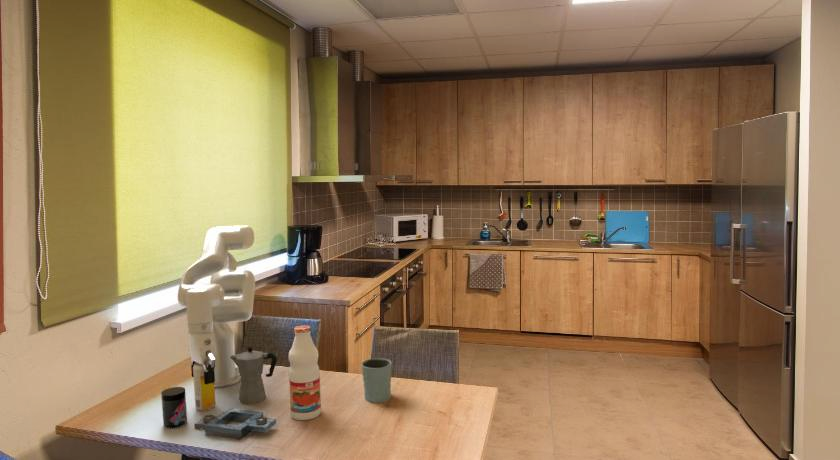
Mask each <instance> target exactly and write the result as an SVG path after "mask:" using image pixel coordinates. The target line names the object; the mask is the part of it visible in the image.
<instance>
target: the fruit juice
mask: <svg viewBox="0 0 840 460" xmlns="http://www.w3.org/2000/svg"><path fill="white" fill-rule="evenodd" d="M293 331H294V334H295V336H294V338H293V342H292V346H291V348H290V350H289V352H288V362H289V365H290V366H289V369H288V387H289V388H288V389H289V390H288V391H289V407H290V408H289V409H290V410H289V411H290V416H291V418H292V419H294V420H297V421H310V420H312V419H313V420H314V419H316V418H317V417H319V416H320V415H321V414H322V413H321V412H322V407H321V406H322V403H321V401H322V399H321V398H322V397H321V379H320V377H321V372H320V366H319V365H318V360H319V351H318V348H317V347H316V345H315V343H314V341H313V339H312V336H311V326H310V325H306V324H305V325H297V326H295V327H294V329H293Z"/></svg>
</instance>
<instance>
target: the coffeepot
mask: <svg viewBox="0 0 840 460" xmlns="http://www.w3.org/2000/svg"><path fill="white" fill-rule="evenodd" d="M246 348H247V351H244V352H241V353H238V354H235V355H233V356H231V357H230V358H231V359H232V360H233V361H234V362H235V366H237V367H238V369H239V373H240V377H241V378H240V380H239V391H238V401H239V402H240V403H241V404H245V405H249V404H250V405H252V404H257V403H260V402H262V401H264V400H265V399H266V398H267V393H266V389H265V386H264V382H263V378H262V377H263V376H262V374H263V372H264V361H265V360H268V359H271V362H270V367H269V369H268V370H269V373H265V378H269V377H270V378H271V377H272V376H273V375H274V371H275V367H276V366H277V361H278V356H276V355H275V354H274V353H273V352H263V351H258V350H253V346H251V345H250V346H247V347H246Z"/></svg>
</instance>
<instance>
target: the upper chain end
mask: <svg viewBox="0 0 840 460" xmlns="http://www.w3.org/2000/svg"><path fill="white" fill-rule="evenodd" d="M264 414H265V413H264V411H254V410H249V409H248V410H247V409H240V408H230V407H229V408H228V409H225V411H223V412H221V413H220V414H219V415H216V416H217V417H216V418H215V419H213V420H212V421H210V422H209V423H207V424H206V425H205V429H204V431H205V430H208V431H215V432H223V433H230V434H238V435H242V434H243V433H244V432H245V431H247V430H249V431H252V432H258V433H267V432H268V431H269V430H271V428H272V427H274V426H275V425H277V418H275V417H267V416H265V415H264ZM231 416H233V417H242V418H249V419H247V420H246V421H245V422H241V424H240V425H233V424H232V425H231V424H221V423H223V422H224V421H226V420H227V419H228V418H230V417H231Z"/></svg>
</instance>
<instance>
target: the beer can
mask: <svg viewBox="0 0 840 460" xmlns="http://www.w3.org/2000/svg"><path fill="white" fill-rule="evenodd" d="M205 362H207V361H205ZM208 365H209V364H208ZM208 365H206V366H207V367H208ZM204 372H205V370H204V367H203V365H201V364H199V363H197V362H196V363H194V366H193V376H194V377H193V387H194V389H193V390H194V391H193V392H194V403H195V408H196V409H197V410H198V411H200V412H201V411H203V412H205V411H209V410H211V409H213V408H214V407H215V405H216V393H215V388H216V387H214V383H210V384H204Z"/></svg>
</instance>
